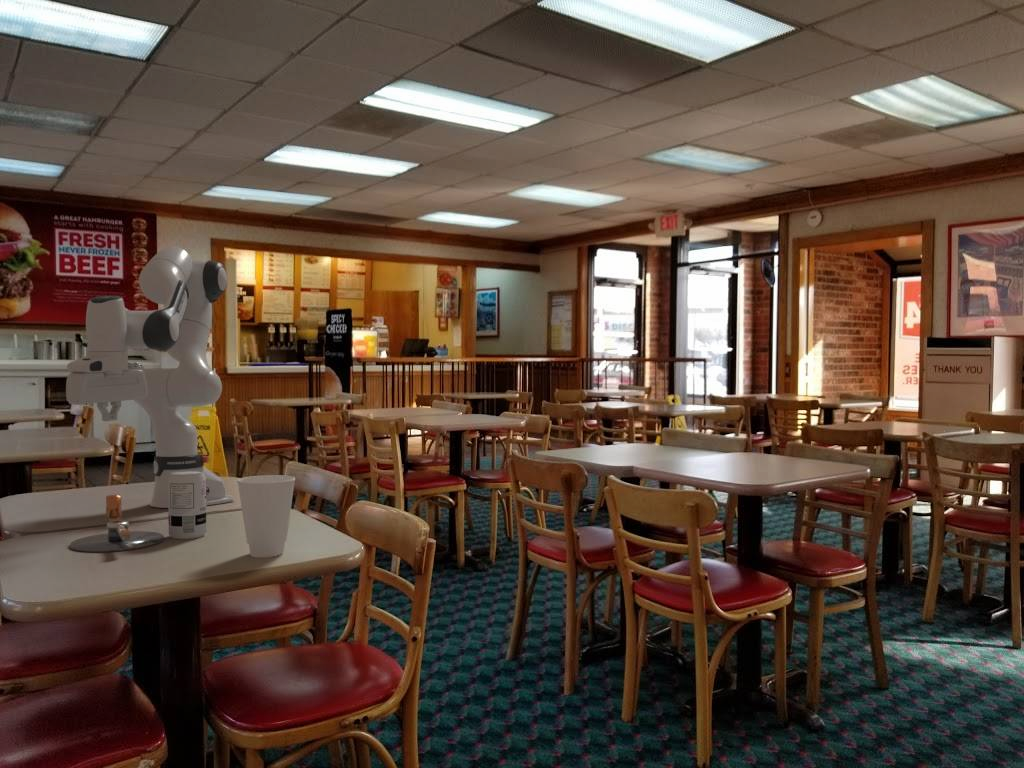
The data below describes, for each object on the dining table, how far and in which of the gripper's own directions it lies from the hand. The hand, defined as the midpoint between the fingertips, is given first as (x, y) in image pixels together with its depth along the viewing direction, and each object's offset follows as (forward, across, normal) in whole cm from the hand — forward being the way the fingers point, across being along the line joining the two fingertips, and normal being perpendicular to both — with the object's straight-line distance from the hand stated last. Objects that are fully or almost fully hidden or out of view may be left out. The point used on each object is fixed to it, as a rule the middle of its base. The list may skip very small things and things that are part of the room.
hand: (109, 420), depth 195 cm
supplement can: (+27, -2, +22) cm, 35 cm away
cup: (+26, +4, +51) cm, 57 cm away
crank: (+23, +11, +15) cm, 30 cm away
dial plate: (+26, +10, +13) cm, 31 cm away
